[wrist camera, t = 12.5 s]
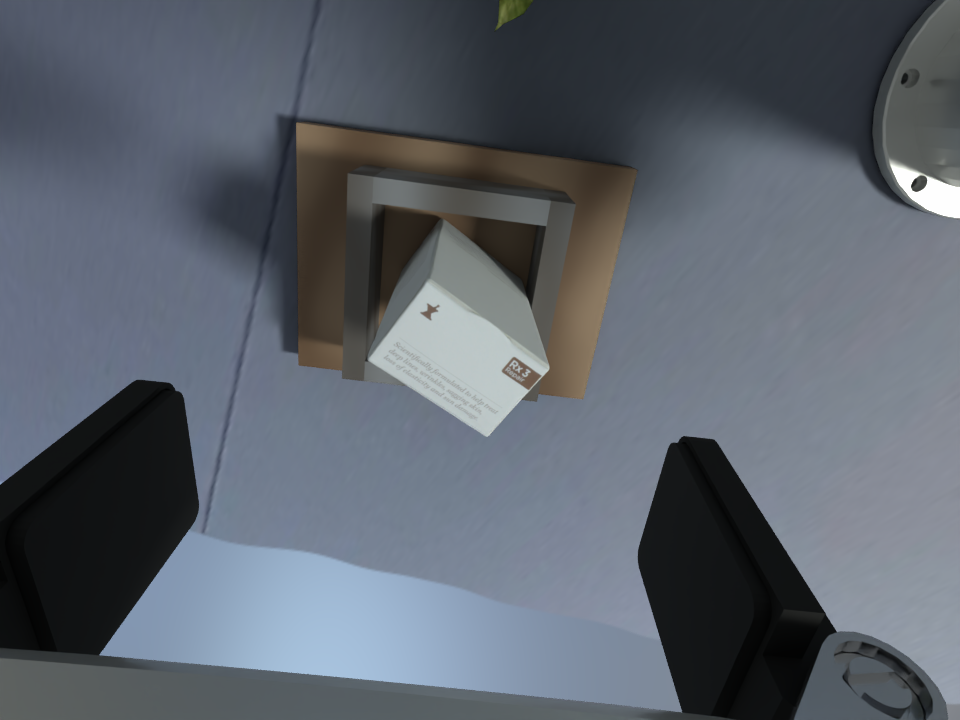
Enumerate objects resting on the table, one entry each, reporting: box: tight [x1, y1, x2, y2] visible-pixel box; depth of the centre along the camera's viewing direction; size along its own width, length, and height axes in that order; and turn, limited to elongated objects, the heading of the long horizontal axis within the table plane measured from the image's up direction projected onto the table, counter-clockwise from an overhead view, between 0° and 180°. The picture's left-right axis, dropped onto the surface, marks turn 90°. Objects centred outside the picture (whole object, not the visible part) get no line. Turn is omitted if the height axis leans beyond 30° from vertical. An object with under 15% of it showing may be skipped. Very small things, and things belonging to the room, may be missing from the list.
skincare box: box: [367, 218, 549, 437], centre depth 27 cm, size 6×4×12 cm
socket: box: [296, 122, 638, 402], centre depth 31 cm, size 18×14×6 cm
